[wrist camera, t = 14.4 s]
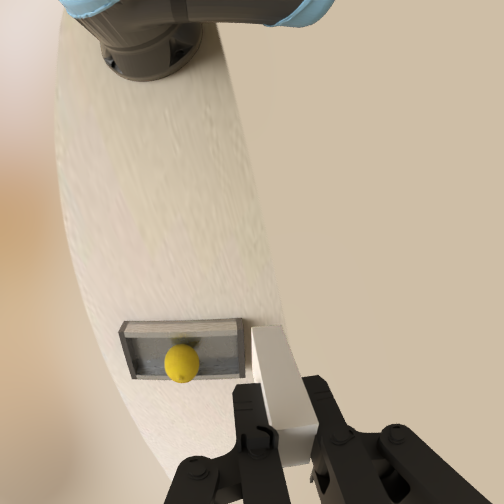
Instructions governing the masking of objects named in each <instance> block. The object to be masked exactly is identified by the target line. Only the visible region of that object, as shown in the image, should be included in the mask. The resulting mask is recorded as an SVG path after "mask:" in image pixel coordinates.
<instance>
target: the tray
mask: <svg viewBox="0 0 504 504" xmlns="http://www.w3.org/2000/svg"><path fill="white" fill-rule="evenodd" d="M118 333H119V337H120V340H121V344H122V348H123V351H124V355H125V358H126V361H127V365H128V368H129V371H130V374H131V377H132V379H143V380H172V379H170V378H169V376H168V375H167V373H166V371H165V364H164V361H165V357H166V354H167V352H168V351H169V349H170V348H172V347H173V346H175V345H178V344H185V345H188V346H190V347H192V348H193V349H194V350H195V351H196V352H197V355H198V357H199V369H198V372H197V374H196V376H195V377H194V378H193V379H192V380H212V379H233V378H245V354H244V329H243V322H242V318H235V319H216V320H190V321H124V322H123V324H122V326H121V328H120V330H119V332H118Z"/></svg>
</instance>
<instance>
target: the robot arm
mask: <svg viewBox="0 0 504 504" xmlns="http://www.w3.org/2000/svg"><path fill="white" fill-rule="evenodd" d="M59 1H60V2H61V3H62V5H63V6H64V7H65V8H66V10H67V13H68V14H69V15H70V16H72V17H73V18H74V19H76V20H77V21H78V22H79V23H80V24H81V25H83V26H84V27H85V28H86V29H87V30H88V31H89V32H90V33H92V34H93V35H94V36H95V37H96V38H97V39H98V40H99V41H100V44H101V51H102V56H103V58H104V60H105V62H106V64H107V65H108V66H109V68H111V69H112V70H113V71H114V72H115V73H116V74H118V75H119V76H121V77H123V78H125V79H128V80H132V81H152V80H157V79H160V78H163V77H166V76H168V75H170V74H172V73H174V72H176V71H177V70H179V69H180V68H182V67H183V66H184V65H185V64H186V63H187V62H188V61H189V60H190V59H191V58H192V57H193V55H194V54H195V53H196V51H197V49H198V47H199V45H200V42H201V38H202V25H201V23H204V22H229V23H233V22H234V23H252V24H263V25H264V26H267V27H274V26H287V27H298V28H300V27H305V26H308V25H312V24H314V23H315V22H317V21H318V20H320V19H321V18H322V17H323V16H324V15H325V14H326V13H327V11H328V10H329V8H330V7H331V6H332V4H333V3H334V1H335V0H59ZM251 337H252V371H253V376H254V382H255V383H251V384H237V385H236V387H235V389H234V391H233V393H232V395H233V407H234V418H235V429H236V444H235V446H234V448H233V449H232V450H231V451H230V452H229V453H227V454H225V455H223V456H220V457H217V458H214V459H210V458H207V457H204V456H192V457H188V458H186V459H185V460H183V461H182V462H181V463H180V465H179V466H178V468H177V471H176V473H175V476H174V478H173V481H172V484H171V486H170V489H169V491H168V494H167V497H166V499H165V502H164V504H228V503H231V502H234V501H237V500H240V499H243V503H244V504H291V502H290V498H289V494H288V489H287V485H286V481H285V477H284V473H283V468H284V467H291V466H297V465H303V464H308V463H309V462H310V458H311V459H312V462H313V465H314V467H313V470H312V473H311V477H310V483H312V482H313V480H314V481H315V484H316V488H317V491H318V494H319V497H320V500H321V504H492V503H491V502H490V501H488V500H487V499H486V498H485V497H484V496H483V495H482V494H480V493H479V492H478V491H477V490H476V489H475V488H474V487H473V486H472V485H471V484H469V483H468V482H467V481H466V480H465V479H464V478H463V477H462V476H461V475H459V474H458V473H457V472H456V471H455V470H454V469H453V468H452V467H451V466H450V465H448V464H447V463H446V462H445V461H444V460H443V459H442V458H441V457H440V456H439V455H438V454H436V453H435V452H434V451H433V450H432V449H431V448H430V447H429V446H428V445H427V444H426V443H425V442H424V441H422V440H421V439H420V438H419V437H418V436H417V435H416V434H415V433H414V432H413V431H412V430H411V429H410V428H408V427H406V426H405V425H401V424H391V425H388V426H386V427H385V428H384V429H383V430H382V432H381V433H362V432H358V431H356V430H355V429H354V428H352V427H351V426H349V425H347V424H346V422H345V420H344V418H343V416H342V414H341V411H340V409H339V407H338V405H337V403H336V401H335V399H334V397H333V395H332V392H331V391H330V388H329V386H328V384H327V382H326V381H325V380H324V379H322V378H321V377H320V376H319V375H315V376H308V377H301V375H300V373H299V370H298V367H297V365H296V362H295V359H294V357H293V354H292V352H291V349H290V346H289V344H288V341H287V338H286V336H285V333H284V331H283V328H282V325H271V326H258V327H251Z"/></svg>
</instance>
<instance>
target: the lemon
mask: <svg viewBox="0 0 504 504" xmlns="http://www.w3.org/2000/svg"><path fill="white" fill-rule="evenodd" d="M164 364H165V371H166V373H167V375H168V376H169V378H170V379H172V380H173V381H175V382H178V383H186V382H189V381H191V380H192V379H193V378H194V377H195V376H196V374H197V372H198V369H199V357H198V355H197V352H196V351H195V350H194V349H193V348H192V347H190V346H188V345H185V344H178V345H175V346H173V347H172V348H170V349H169V351H168V352H167V354H166V357H165V361H164Z"/></svg>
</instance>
